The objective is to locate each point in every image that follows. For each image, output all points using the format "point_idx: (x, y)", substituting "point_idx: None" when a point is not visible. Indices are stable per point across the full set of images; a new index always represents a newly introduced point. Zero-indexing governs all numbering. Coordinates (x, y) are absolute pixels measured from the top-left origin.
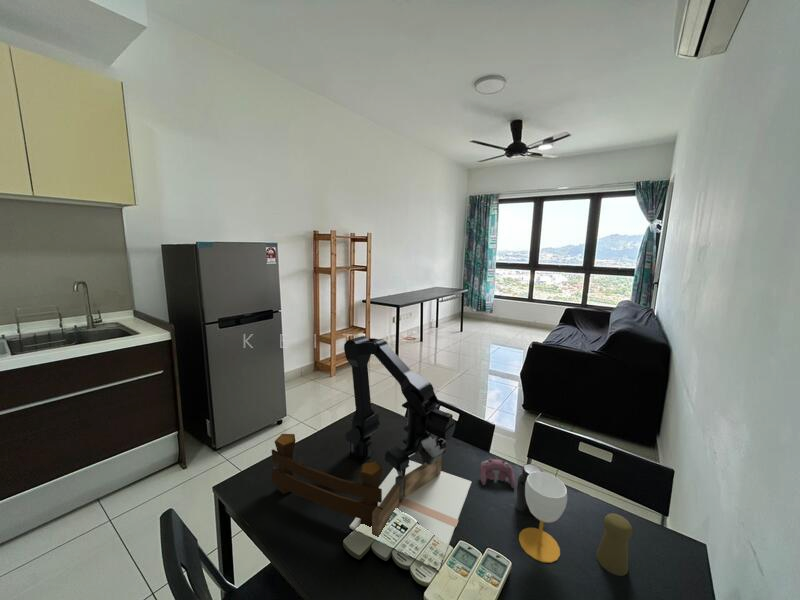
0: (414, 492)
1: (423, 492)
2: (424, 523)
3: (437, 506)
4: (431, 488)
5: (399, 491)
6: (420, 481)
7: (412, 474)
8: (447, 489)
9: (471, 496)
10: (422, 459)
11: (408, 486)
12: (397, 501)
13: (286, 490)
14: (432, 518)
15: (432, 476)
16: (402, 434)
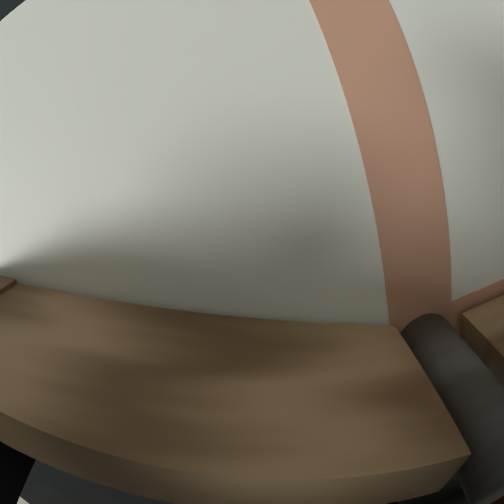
0: (282, 311)
1: (217, 253)
2: (476, 56)
3: (263, 45)
4: (121, 230)
5: (495, 378)
6: (186, 348)
7: (327, 488)
8: (37, 126)
9: (4, 8)
10: (31, 460)
11: (384, 383)
12: (501, 323)
13: (500, 501)
14: (404, 20)
15: (38, 300)
16: (48, 495)
